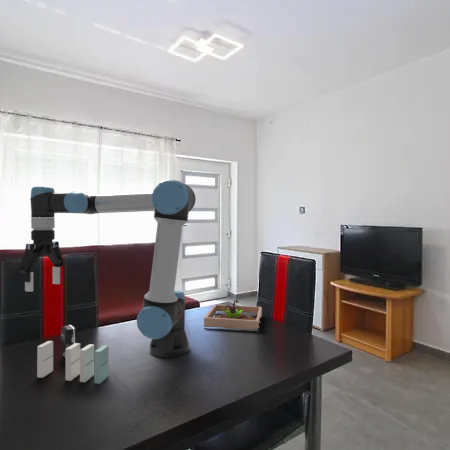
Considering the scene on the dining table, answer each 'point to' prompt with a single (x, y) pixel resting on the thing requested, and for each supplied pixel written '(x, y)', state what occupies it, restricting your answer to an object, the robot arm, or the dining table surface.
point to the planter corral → (232, 323)
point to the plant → (234, 313)
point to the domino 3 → (101, 364)
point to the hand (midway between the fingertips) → (43, 287)
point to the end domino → (44, 359)
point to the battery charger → (68, 336)
